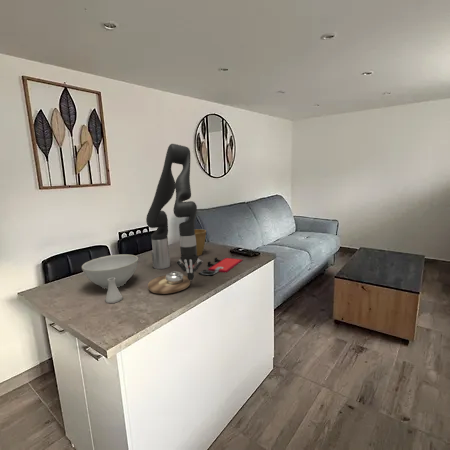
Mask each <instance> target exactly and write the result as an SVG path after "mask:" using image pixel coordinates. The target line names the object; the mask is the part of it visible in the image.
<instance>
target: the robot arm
mask: <svg viewBox="0 0 450 450" xmlns="http://www.w3.org/2000/svg"><path fill="white" fill-rule="evenodd" d="M166 150H167V151H166V153H165V159H164V162H163V167H162V170H161V171H162V172H161V174H160V177H159V180H158V184H157V187H156V190H155V193H154V198H153V200H152V203H151V205H150V207H149V210H148V212H147V214H146V217H145V219H146V221H145V222H146V225H147V226H148V228H150V229H156V230H155V231H154V232H152V234H151V235H150V236H151V237H150V238H151V245H152V252H151V258H152V259H151V260H152V267H153V269H157V270H161V269H163V270H164V269H168V268H170V267H171V258H170V250H169V249H170V248H169V238H168V235H169V234H168V233H169V224H168V222H169V220H168V215H167V213H166V212H165V211H164V210H162V209H163V208H164V207H165V206H166V205H167V204H168V203H169V202H170V201H171V200H172V198H173V196H174V194H175V200H174V205H173V210H172V211H173V214H174V216H175V218H178V219H179V218H189V219H188V220H186V221H182V222H180V223H179V224H178V230H179V232H178V233H179V247H180V256H179V257H180V258H179V259H178V260H177V261H176V262H175V263H176V264H177V266H178V267H179V268H180V269H181V270H182V272H186V276H187V277H188V279H189V280H190V281H193V279H195V272H197V270H198V269H199V267H200V266H201V265H202V263H203V262H204V260H203V259H200V258H199V256H197V247H196V237H195V223H196V222H195V221H196V216H197V212H198V205H197V204H196V202H195V201H191V200H190V201H188V200H189V199H191V198H192V190H191V189H192V188H191V183H190V182H191V180H190V179H191V178H190V176H191V150H190V148H189V147H188V146H185V145H181V144H176V143H171V144H169V146H168V147H167V149H166ZM173 164H177V165H182V170H181V171H180V173H179V175H177V178H176V179H174V175H173V171H172V165H173ZM196 263H197V265H196V266H195V264H196Z"/></svg>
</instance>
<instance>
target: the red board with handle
mask: <svg viewBox="0 0 450 450" xmlns="http://www.w3.org/2000/svg"><path fill="white" fill-rule="evenodd" d="M213 260H214V263H215V264H213V263H211V261H207V269H203V270H202V271H200V272H198V274H200V275H207V276H213V275H215V274H217V273H225V272H226V273H228V272H230V271H231V270H232V269H233V268H235V267H236V266H237V265H238V263H239V264H240V263H241V262H242V261H243V259H239V258H233V257H225V258H222V260H220V259H218V257H214V259H213ZM234 266H235V267H234ZM208 267H209V268H208ZM226 273H225V274H226Z"/></svg>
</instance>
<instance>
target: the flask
mask: <svg viewBox="0 0 450 450" xmlns="http://www.w3.org/2000/svg"><path fill="white" fill-rule="evenodd" d="M107 280H108V283H109V286H108V289H107V292H106V297H105V299H104V300H105V303H107V304H114V303H119V302H121V301H122V300H123V299H124V297H123V296H122V294H121V292H120V290H119V287H118V288H117V286H116V283H115V278H109V279H107Z"/></svg>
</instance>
